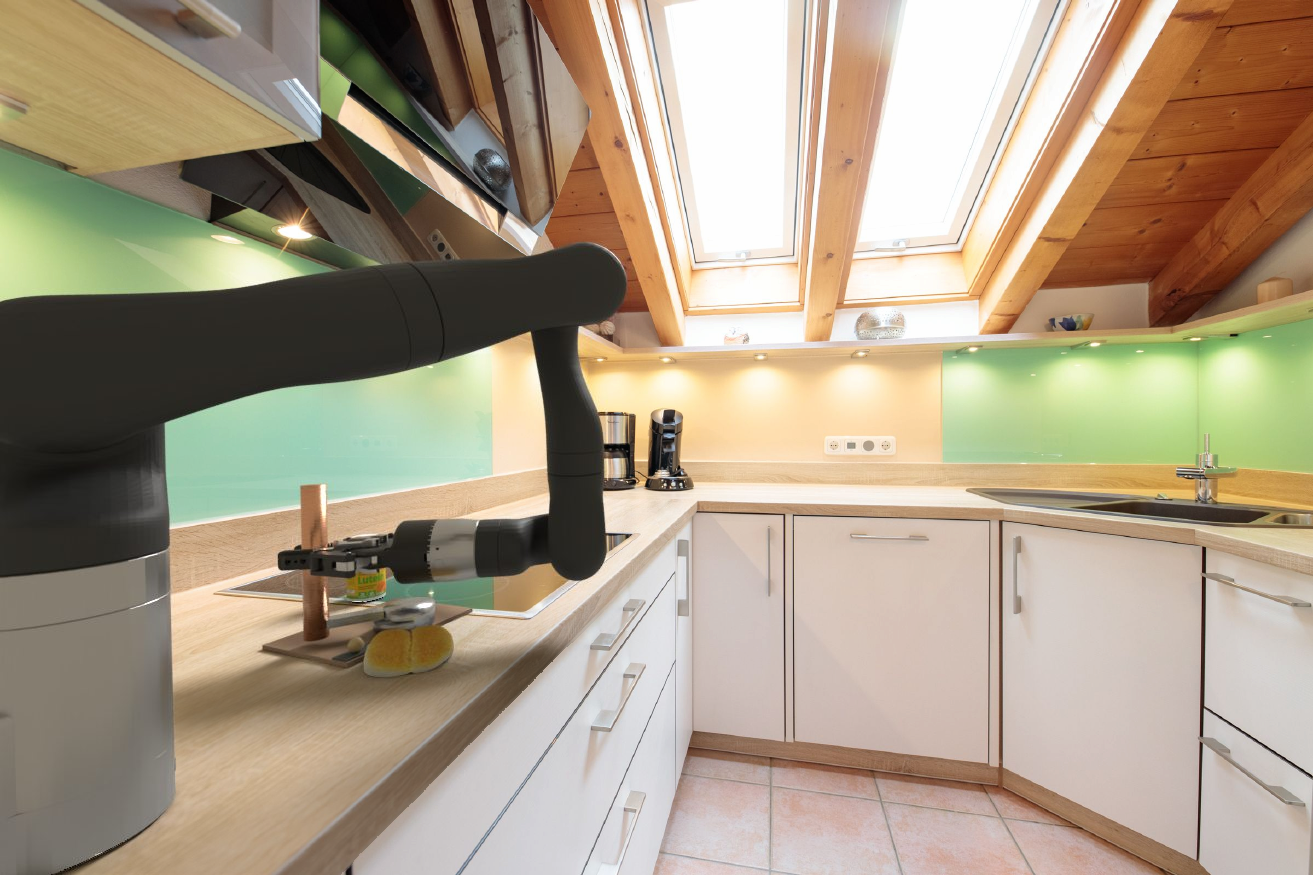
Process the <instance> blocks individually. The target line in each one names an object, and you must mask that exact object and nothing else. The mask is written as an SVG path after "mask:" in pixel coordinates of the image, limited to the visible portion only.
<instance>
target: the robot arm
mask: <svg viewBox="0 0 1313 875" xmlns="http://www.w3.org/2000/svg"><path fill="white" fill-rule="evenodd" d="M627 288H628V278H627V274H626V271H625V268H624V266H623V264H622V262H621V260H620V259H619V258H618V257H617V256H616V254H614V253H613V252H612V251H611V250H609V249H608V248H606V247H605V246H602V245H600V244H598V243H594V242H590V241H578V242H575V243H574V242H573V243H570V244H566V245H562V246H560V247H556V248H552V249H550V250H546V251H543V252H541V253H536V254H533V255H531V254H530V255H526V256H520V257H519V256H518V257H511V258H510V257H509V258H460V259H459V258H457V259H456V258H454V259H436V260H420V261H419V260H418V261H416V260H415V261H404V262H395V263H383V264H376V265H375V264H374V265H366V266H357V267H352V268H345V269H339V270H333V271H326V272H325V271H324V272H317V273H312V274H306V275H305V274H304V275H300V276H299V275H298V276H294V277H289V278H284V279H279V280H273V281H268V282H264V283H257V284H253V285H248V286H241V287H231V288H224V289H213V290H209V289H208V290H194V291H193V290H192V291H191V290H190V291H166V292H163V291H162V292H161V291H160V292H141V293H139V292H137V293H136V292H135V293H134V292H133V293H132V292H131V293H102V294H101V293H100V294H99V293H94V294H93V293H92V294H90V293H86V294H78V293H77V294H47V295H46V294H45V295H40V294H39V295H29V296H21V297H14V298H9V299H8V298H7V299H4V300H0V875H51V874H53V875H55V874H57V873H60V871H61V872H63V871H65V870H64V869H66V870H68V869H70V868H69V867H71V868H73V867H72V866H73V865H76V866H78V865H77V864H79V863H81V862H83V861H85V860H87V859H89V858H91V857H93V856H95V854H98V853H101V852H104V851H106V850H108V849H110V848H111V847H113V848H115V847H117V846H119V845H121V844H122V843H121V842H123V843H125V842H126V841H127V839H128V840H129V839H131V838H132V837H133V836H135V835H137V834H139V833H140V832H141V831H143V830H144V829H146V828H147V827H148V826H150V825H151V824H152V823H153V822H155V821H156V820H157V819H158V818H160V816H161V815H162V814H163V813H164V812H165V811H166V810H167V809H168V808H169V807H170V805H171V804H172V802H173V801H174V799H175V795H176V770H177V768H176V767H177V766H176V765H177V762H176V756H175V723H174V721H175V720H174V715H175V714H174V712H175V711H174V682H173V680H174V678H173V644H172V643H173V641H172V639H173V638H172V636H173V635H172V602H171V601H172V598H171V591H172V589H171V552H170V551H171V549H170V548H171V547H170V545H171V538H170V537H171V535H170V534H171V532H170V531H171V530H170V529H171V528H170V527H171V526H170V524H171V523H170V520H171V519H170V517H171V516H170V507H169V506H170V505H169V496H168V493H169V492H168V484H167V470H166V468H167V464H166V423H168V422H172V421H174V420H177V419H180V418H183V417H186V416H189V415H193V414H195V413H198V412H202V411H204V410H208V409H210V408H214V407H217V406H220V405H224V404H226V403H231V402H233V401H237V400H240V399H243V398H247V397H250V396H254V395H258V394H262V393H266V392H270V391H272V392H273V391H275V390H280V389H288V388H293V387H294V388H295V387H302V386H316V385H326V384H336V383H345V382H346V383H347V382H352V381H361V380H366V379H373V378H380V377H384V376H389V375H394V374H399V373H404V372H407V371H411V370H414V369H418V368H419V369H420V368H423V367H426V366H431V365H435V364H437V363H438V364H439V363H441V362H444V361H447V360H450V359H455V358H457V357H461V356H465V355H468V354H470V353H473V352H474V353H475V352H477V351H480V350H483V349H486V348H490V347H492V346H495V345H497V344H500V343H503V342H506V341H508V340H511V339H513V338H517V337H519V336H521V335H524V334H525V335H526V334H528V333H530V337H531V341H532V347H533V354H534V357H535V358H534V359H535V364H536V368H537V374H538V380H539V385H540V391H541V398H542V404H543V415H544V424H545V445H546V446H545V447H546V450H545V451H546V472H547V473H546V474H547V475H546V476H547V477H546V478H547V483H548V484H547V485H548V491H549V492H548V493H549V503H548V504H549V506H548V513H543V514H537V515H532V516H527V517H522V518H489V519H488V518H487V519H486V518H485V519H473V518H462V517H461V518H438V519H437V518H435V519H410V520H408V519H407V520H403V521H401V522H400V523H398V525H397V527H396V529H395V531H394V533H393V532H388V533H376V534H377V535H373V536H359V537H354V538H351V537H352V536H349V537H348V536H347V537H346V538H343V539H342V540H333V541H330V543H329V542H328V548H321V547H318V548H316V549H302V547H301V544H298V545H295V547H293V549H284V550H282V551H279V552H278V553H277V569H278V570H279V571H281V572H285V571H302V570H307V569H311V570H310V575H314V576H326V577H329V578H340V579H346V578H347V579H350V578H352V577H355V576H356V573H358V572H362V573H364V574H372V573H378V572H380V569H382V568H389V570H391V572H392V574H393V577H394V580H395V581H396V582H397V583H399V584H401V585H411V584H412V585H413V584H427V583H428V584H432V583H447V582H449V583H450V582H462V581H468V580H472V579H482V578H499V577H503V578H505V577H513V576H517V575H521V574H523V573H525V572H526V571H527V570H528V569H529V568H531V567H535V566H539V565H547V564H548V565H549V564H551V566H552V568H553V569H554V571H555V572H556V573H557V574H558V575H560V577H562V578H564V579H566V580H568V581H573V582H581V581H585V580H588V579H590V578H592V577H594V575H596V574H597V573H598V572H599V571H600V569H601V568H602V567H603V565H604V563H605V561H606V558H607V552H608V549H607V548H608V547H607V546H608V545H607V532H606V531H607V530H606V515H605V507H604V506H605V504H604V486H605V441H604V440H605V439H604V432H603V425H602V421H601V417H600V415H599V412H598V409H597V406H596V404H595V402H594V399H593V397H592V394H591V392H590V389H589V388H588V385H587V383H586V380H585V377H584V374H583V371H582V367H581V364H580V357H579V356H580V355H579V348H578V347H579V331H580V330H579V327H585V326H592V325H593V326H594V325H599V324H600V323H603V322H605V321H607V320H609V319H610V318H611V317H612V316H614V315H615V314H616V313H617V311H618V310H619V309H620V308H621V306H622V304H623V303H624V301H625V298H626V294H627ZM172 800H173V801H172ZM125 840H126V841H125ZM120 843H121V844H120ZM118 844H119V845H118ZM116 845H117V846H116ZM114 846H115V847H114ZM110 850H111V849H110ZM108 851H109V850H108ZM106 852H107V851H106ZM104 853H105V852H104ZM89 860H90V859H89ZM87 861H88V860H87ZM85 862H86V861H85ZM83 863H84V862H83ZM81 864H82V863H81ZM79 865H80V864H79ZM67 868H68V869H67Z"/></svg>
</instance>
